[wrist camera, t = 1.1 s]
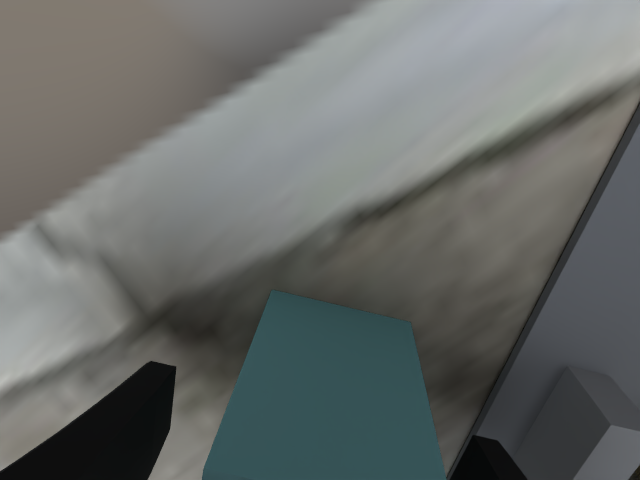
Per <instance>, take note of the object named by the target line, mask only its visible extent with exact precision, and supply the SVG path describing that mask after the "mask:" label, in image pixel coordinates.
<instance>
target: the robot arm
mask: <svg viewBox="0 0 640 480" xmlns="http://www.w3.org/2000/svg"><path fill="white" fill-rule="evenodd" d="M175 375H176V367H175V366H171V365H167V364H162V363H158V362H154V361H150V362H148V363H146V364H145V365H144V366H143V367H141V368H140V369H139V370H138V371H136V372H135V373H134V374H133V375H132V376H130V377H129V378H128V379H127V380H125V381H124V382H123V383H122V384H120V385H119V386H118V387H117V388H115V389H114V390H113V391H112V392H110V393H109V394H108V395H107V396H105V397H104V398H103V399H101V400H100V401H99V402H98V403H96V404H95V405H94V406H92V407H91V408H90V409H88V410H87V411H86V412H84V413H83V414H82V415H80V416H79V417H78V418H76V419H75V420H74V421H72V422H71V423H70V424H68V425H67V426H66V427H64V428H63V429H61V430H60V431H59V432H57V433H56V434H54V435H53V436H52V437H50V438H49V439H47V440H46V441H44V442H43V443H41V444H40V445H38V446H37V447H36V448H34V449H33V450H31V451H30V452H28V453H27V454H25V455H24V456H22V457H21V458H20V459H18V460H17V461H15V462H14V463H12V464H11V465H9V466H8V467H6V468H5V469H3V470H2V471H0V480H147V479H148V478H149V476H150V474H151V472H152V469H153V467H154V465H155V463H156V460H157V458H158V456H159V454H160V451H161V449H162V447H163V444H164V442H165V440H166V437H167V435H168V433H169V430H170V425H171V415H172V405H173V395H174V385H175ZM450 480H528V479H527V478H526V476H525V475H524V474H523V472H522V471H521V470H520V468H519V467H518V466H517V464H516V463H515V462H514V460H513V459H512V458H511V456H510V455H509V454H508V453H507V451H506V450H505V449H504V447H503V446H502V445H501V444H500V442H499V441H498V440H494V439H490V438H486V437H481V436H477V435H473V436H472V437H471V439H470V441H469V443H468V445H467V447H466V449H465V451H464V453H463V455H462V457H461V459H460V460H459V462H458V464H457V466H456V468H455V470H454V472H453V474H452V476H451V478H450Z"/></svg>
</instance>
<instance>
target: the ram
mask: <svg viewBox="0 0 640 480" xmlns="http://www.w3.org/2000/svg"><path fill="white" fill-rule="evenodd" d="M628 480H640V465H639V466H638V468H637V469H636V470H635V471H634V473H633V474H632V475H631V476H630V478H629V479H628Z"/></svg>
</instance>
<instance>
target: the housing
mask: <svg viewBox="0 0 640 480" xmlns="http://www.w3.org/2000/svg"><path fill="white" fill-rule="evenodd" d="M202 480H447V479H446V475H445V471H444V466H443V462H442V458H441V453H440V449H439V444H438V440H437V436H436V431H435V427H434V423H433V418H432V414H431V409H430V405H429V401H428V396H427V392H426V388H425V383H424V379H423V374H422V370H421V366H420V361H419V357H418V352H417V348H416V344H415V339H414V335H413V331H412V326H411V322H408V321H404V320H399V319H395V318H391V317H387V316H382V315H378V314H374V313H370V312H365V311H361V310H357V309H353V308H348V307H344V306H340V305H336V304H331V303H327V302H323V301H319V300H314V299H310V298H306V297H302V296H297V295H293V294H289V293H285V292H281V291H276V290H272V291H271V293H270V296H269V299H268V301H267V304H266V306H265V309H264V312H263V314H262V317H261V319H260V322H259V325H258V327H257V330H256V333H255V335H254V338H253V340H252V343H251V346H250V348H249V351H248V353H247V356H246V359H245V361H244V364H243V367H242V369H241V372H240V374H239V377H238V380H237V382H236V385H235V387H234V390H233V393H232V395H231V398H230V401H229V403H228V406H227V408H226V411H225V414H224V416H223V419H222V421H221V424H220V427H219V429H218V432H217V435H216V437H215V440H214V442H213V445H212V448H211V450H210V453H209V455H208V458H207V461H206V463H205V466H204V469H203V476H202Z"/></svg>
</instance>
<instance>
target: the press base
mask: <svg viewBox="0 0 640 480" xmlns="http://www.w3.org/2000/svg"><path fill="white" fill-rule="evenodd" d="M473 435H477V436H481V437H486V438H490V439H494V440H498V441H499V442H500V444H501V445H502V446H503V447H504V449H505V450H506V451H507V453H508V454H509V455H510V456H511V458H512V459H513V460H514V462H515V463H516V464H517V466H518V467H519V468H520V470H521V471H522V472H523V474H524V475H525V476H526V478H527V479H528V480H628V479H629V478H630V476H631V475H632V474H633V473H634V471H635V470H636V469H637V468H638V466H639V465H640V105H639V107H638V109H637V111H636V112H635V114H634V116H633V118H632V120H631V122H630V124H629V126H628V128H627V130H626V132H625V134H624V136H623V138H622V140H621V142H620V143H619V145H618V147H617V149H616V151H615V153H614V155H613V157H612V159H611V161H610V163H609V165H608V167H607V169H606V171H605V173H604V175H603V176H602V178H601V180H600V182H599V184H598V186H597V188H596V190H595V192H594V194H593V196H592V198H591V200H590V202H589V204H588V206H587V207H586V209H585V211H584V213H583V215H582V217H581V219H580V221H579V223H578V225H577V227H576V229H575V231H574V233H573V235H572V237H571V238H570V240H569V242H568V244H567V246H566V248H565V250H564V252H563V254H562V256H561V258H560V260H559V262H558V264H557V266H556V268H555V269H554V271H553V273H552V275H551V277H550V279H549V281H548V283H547V285H546V287H545V289H544V291H543V293H542V295H541V297H540V299H539V301H538V302H537V304H536V306H535V308H534V310H533V312H532V314H531V316H530V318H529V320H528V322H527V324H526V326H525V328H524V330H523V332H522V333H521V335H520V337H519V339H518V341H517V343H516V345H515V347H514V349H513V351H512V353H511V355H510V357H509V359H508V361H507V363H506V364H505V366H504V368H503V370H502V372H501V374H500V376H499V378H498V380H497V382H496V384H495V386H494V388H493V390H492V392H491V394H490V395H489V397H488V399H487V401H486V403H485V405H484V407H483V409H482V411H481V413H480V415H479V417H478V419H477V421H476V423H475V425H474V427H473V428H472V430H471V432H470V434H469V436H468V438H467V440H466V442H465V444H464V446H463V448H462V450H461V452H460V454H459V456H458V458H457V459H456V461H455V463H454V465H453V467H452V469H451V471H450V473H449V475H448V477H447V480H450V478H451V476H452V474H453V472H454V470H455V468H456V466H457V464H458V462H459V460H460V459H461V457H462V455H463V453H464V451H465V449H466V447H467V445H468V443H469V441H470V439H471V437H472V436H473Z"/></svg>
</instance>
